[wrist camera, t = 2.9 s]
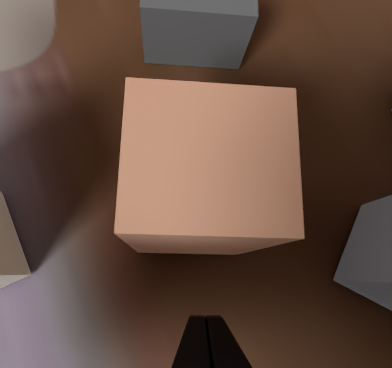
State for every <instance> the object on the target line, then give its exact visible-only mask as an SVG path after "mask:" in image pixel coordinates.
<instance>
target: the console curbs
mask: <svg viewBox="0 0 392 368" xmlns="http://www.w3.org/2000/svg"><path fill="white" fill-rule="evenodd" d="M140 17H141V29H142V40H143V51H144V63H152V64H167V65H182V66H196V67H211V68H226V69H239V67H240V65H241V62H242V59H243V57H244V54H245V51H246V49H247V46H248V43H249V41H250V38H251V35H252V33H253V30H254V27H255V25H256V22H257V19H258V0H140ZM391 112H392V108H391Z"/></svg>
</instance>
